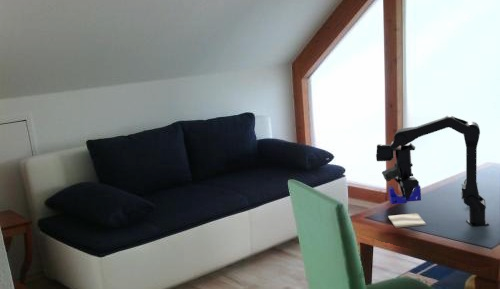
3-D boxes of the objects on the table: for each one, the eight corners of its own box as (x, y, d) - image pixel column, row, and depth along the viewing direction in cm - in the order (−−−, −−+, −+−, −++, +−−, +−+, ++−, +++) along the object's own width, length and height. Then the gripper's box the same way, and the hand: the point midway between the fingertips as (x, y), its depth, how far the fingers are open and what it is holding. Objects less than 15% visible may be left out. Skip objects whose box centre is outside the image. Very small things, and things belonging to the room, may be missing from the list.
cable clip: (391, 204, 206) (390, 190, 205) (389, 200, 211) (388, 186, 210) (422, 201, 205) (421, 187, 204) (419, 198, 210) (418, 184, 209)
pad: (425, 224, 204) (425, 223, 204) (395, 227, 204) (395, 226, 204) (417, 214, 216) (416, 213, 215) (388, 217, 216) (388, 215, 216)
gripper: (378, 157, 214) (380, 193, 217) (388, 168, 196) (391, 207, 199) (404, 154, 214) (406, 190, 217) (418, 165, 195) (420, 204, 199)
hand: (405, 197), depth 208 cm, fingers closed on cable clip, 4 cm apart
